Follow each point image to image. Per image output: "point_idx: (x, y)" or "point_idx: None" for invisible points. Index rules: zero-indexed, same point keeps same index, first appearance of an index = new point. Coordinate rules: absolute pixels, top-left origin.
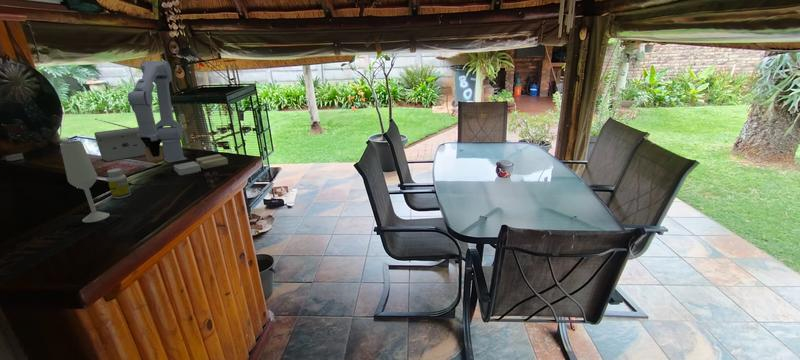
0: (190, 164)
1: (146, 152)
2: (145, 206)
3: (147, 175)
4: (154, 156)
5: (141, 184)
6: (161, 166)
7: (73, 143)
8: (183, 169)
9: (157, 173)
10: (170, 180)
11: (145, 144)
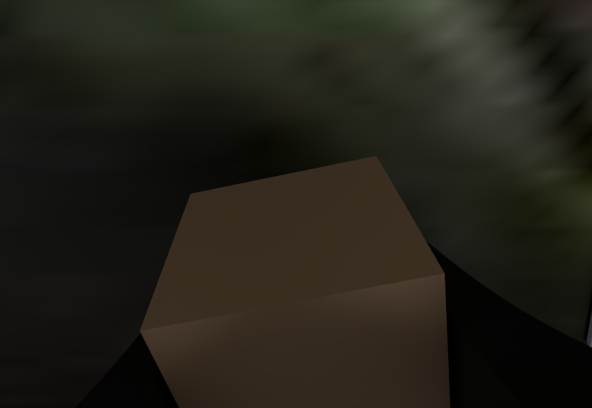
0: None
1: (241, 258)
2: None
3: (316, 63)
4: None
5: (8, 10)
6: (547, 178)
7: None
8: None
9: (329, 148)
10: (50, 239)
11: (483, 356)
